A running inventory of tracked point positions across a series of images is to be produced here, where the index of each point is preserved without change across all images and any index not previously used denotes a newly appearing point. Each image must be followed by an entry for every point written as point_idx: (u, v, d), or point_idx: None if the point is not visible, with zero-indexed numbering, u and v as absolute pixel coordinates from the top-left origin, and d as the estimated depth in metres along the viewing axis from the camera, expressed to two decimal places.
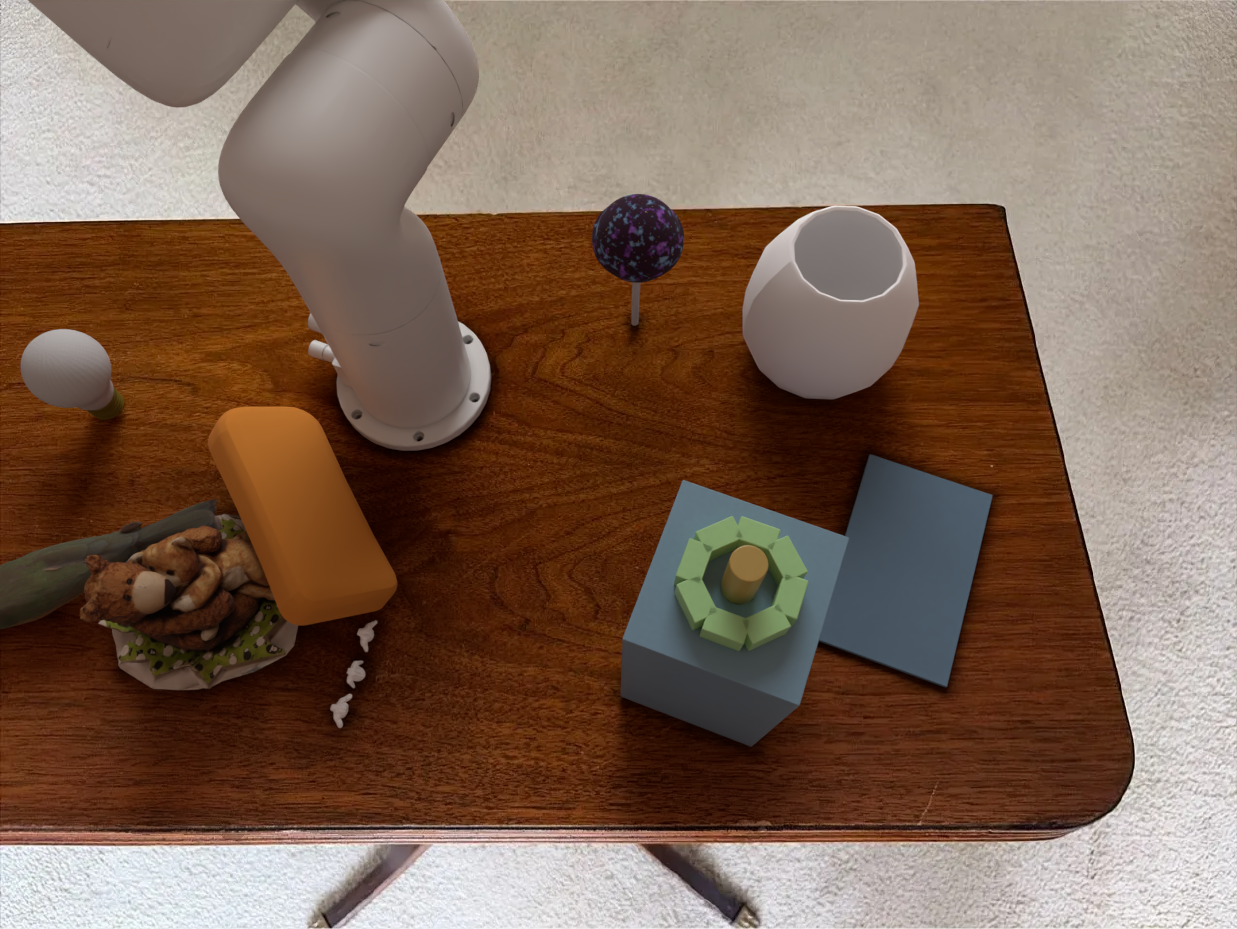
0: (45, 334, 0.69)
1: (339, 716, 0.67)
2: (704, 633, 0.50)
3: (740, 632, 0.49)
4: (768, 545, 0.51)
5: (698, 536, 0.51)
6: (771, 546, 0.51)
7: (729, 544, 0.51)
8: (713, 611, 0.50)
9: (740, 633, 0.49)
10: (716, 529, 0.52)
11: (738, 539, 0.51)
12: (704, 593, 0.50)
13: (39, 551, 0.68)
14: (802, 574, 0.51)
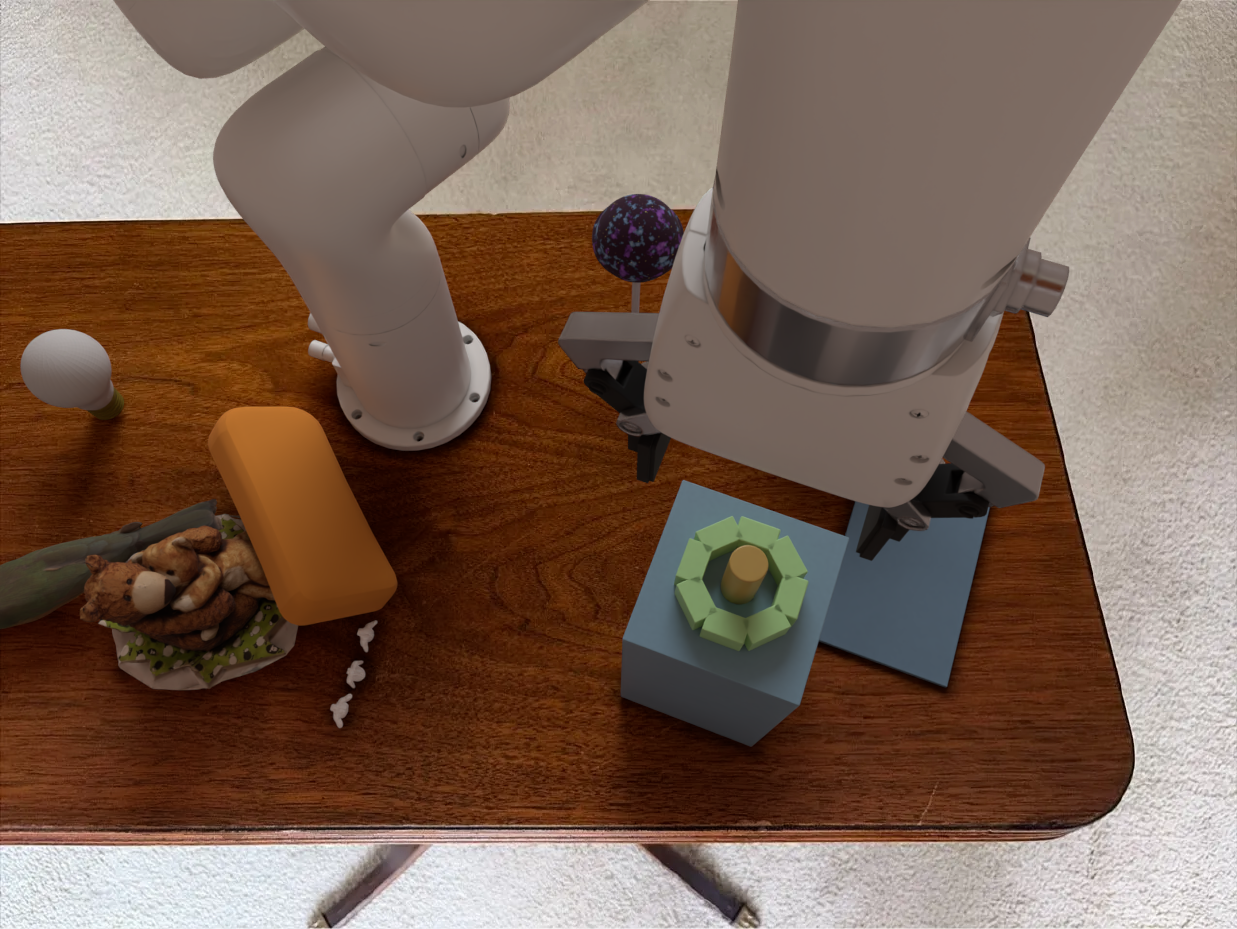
0: (45, 334, 0.69)
1: (339, 716, 0.67)
2: (704, 633, 0.50)
3: (740, 632, 0.49)
4: (768, 545, 0.51)
5: (698, 536, 0.51)
6: (771, 546, 0.51)
7: (729, 544, 0.51)
8: (713, 611, 0.50)
9: (740, 633, 0.49)
10: (716, 529, 0.52)
11: (738, 539, 0.51)
12: (704, 593, 0.50)
13: (39, 551, 0.68)
14: (802, 574, 0.51)
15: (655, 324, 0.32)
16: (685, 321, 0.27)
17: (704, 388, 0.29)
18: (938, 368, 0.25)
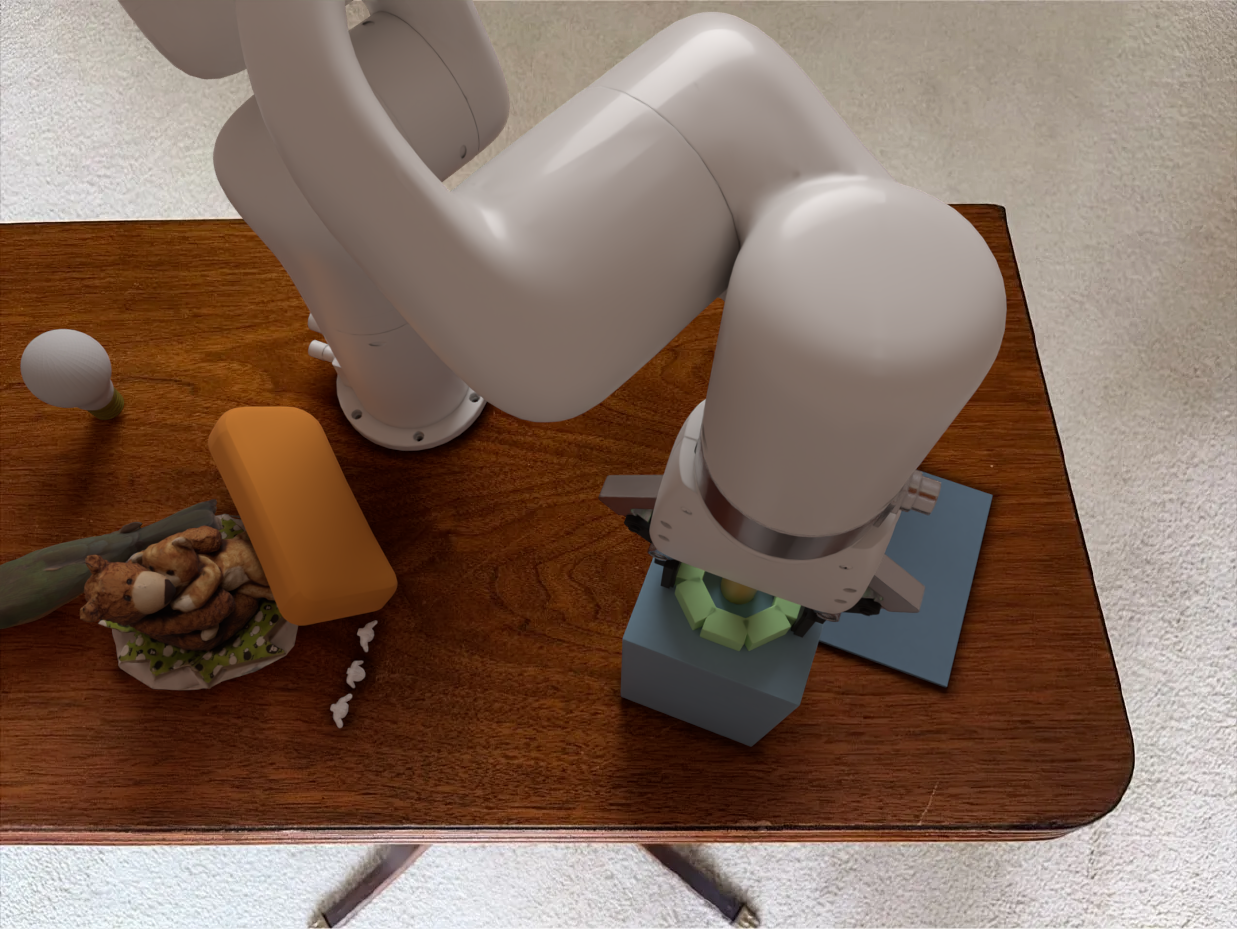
0: (45, 334, 0.69)
1: (339, 716, 0.67)
2: (704, 633, 0.50)
3: (740, 632, 0.49)
4: None
5: None
6: None
7: None
8: (714, 611, 0.50)
9: (740, 633, 0.49)
10: None
11: None
12: (704, 593, 0.50)
13: (39, 551, 0.68)
14: None
15: (660, 483, 0.43)
16: (681, 499, 0.38)
17: (695, 536, 0.40)
18: (856, 543, 0.36)
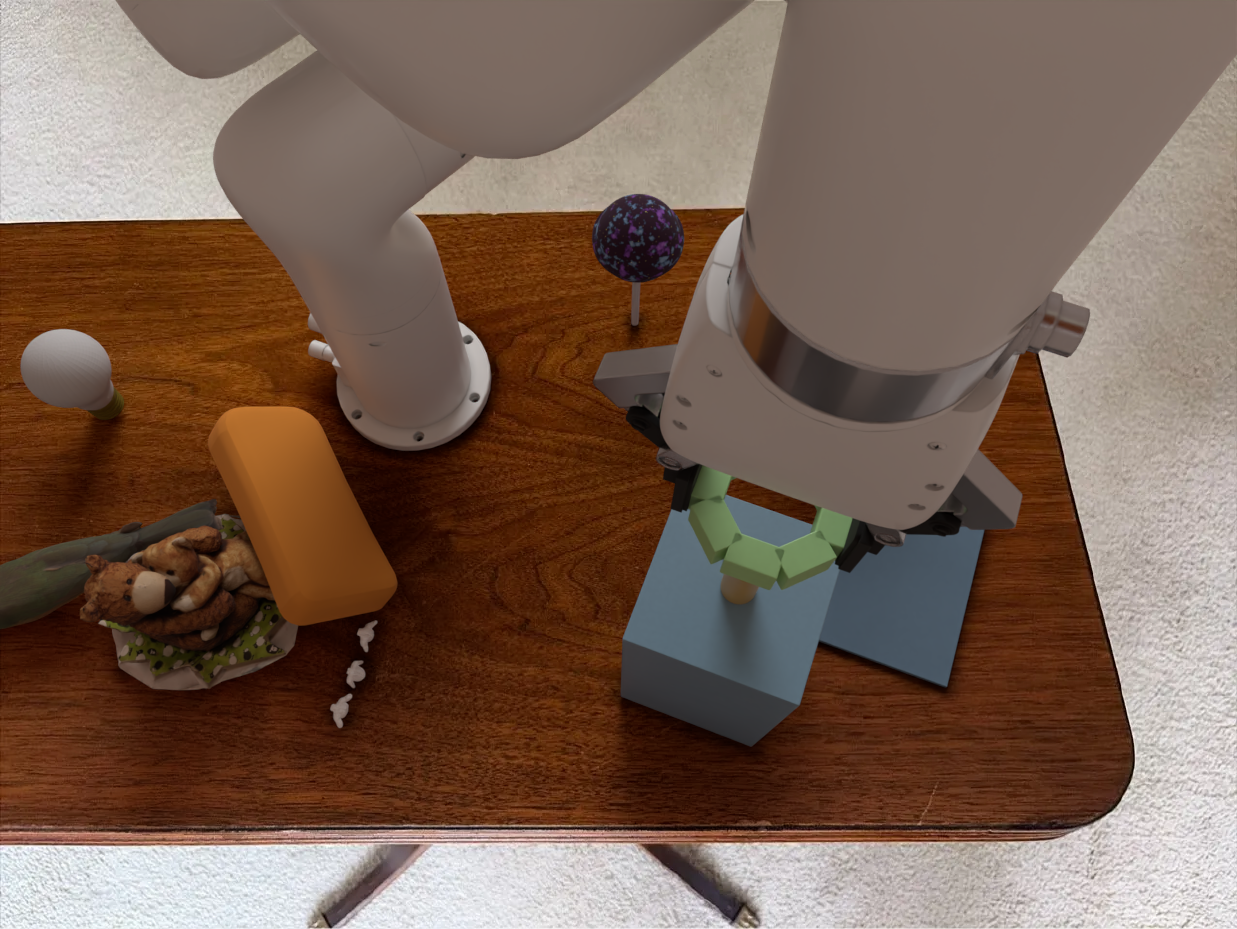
0: (45, 334, 0.69)
1: (339, 716, 0.67)
2: (726, 566, 0.39)
3: (772, 564, 0.39)
4: None
5: None
6: None
7: None
8: (739, 538, 0.39)
9: (772, 565, 0.39)
10: None
11: None
12: (726, 516, 0.40)
13: (39, 551, 0.68)
14: None
15: (675, 355, 0.32)
16: (708, 352, 0.27)
17: (723, 415, 0.30)
18: (958, 404, 0.25)
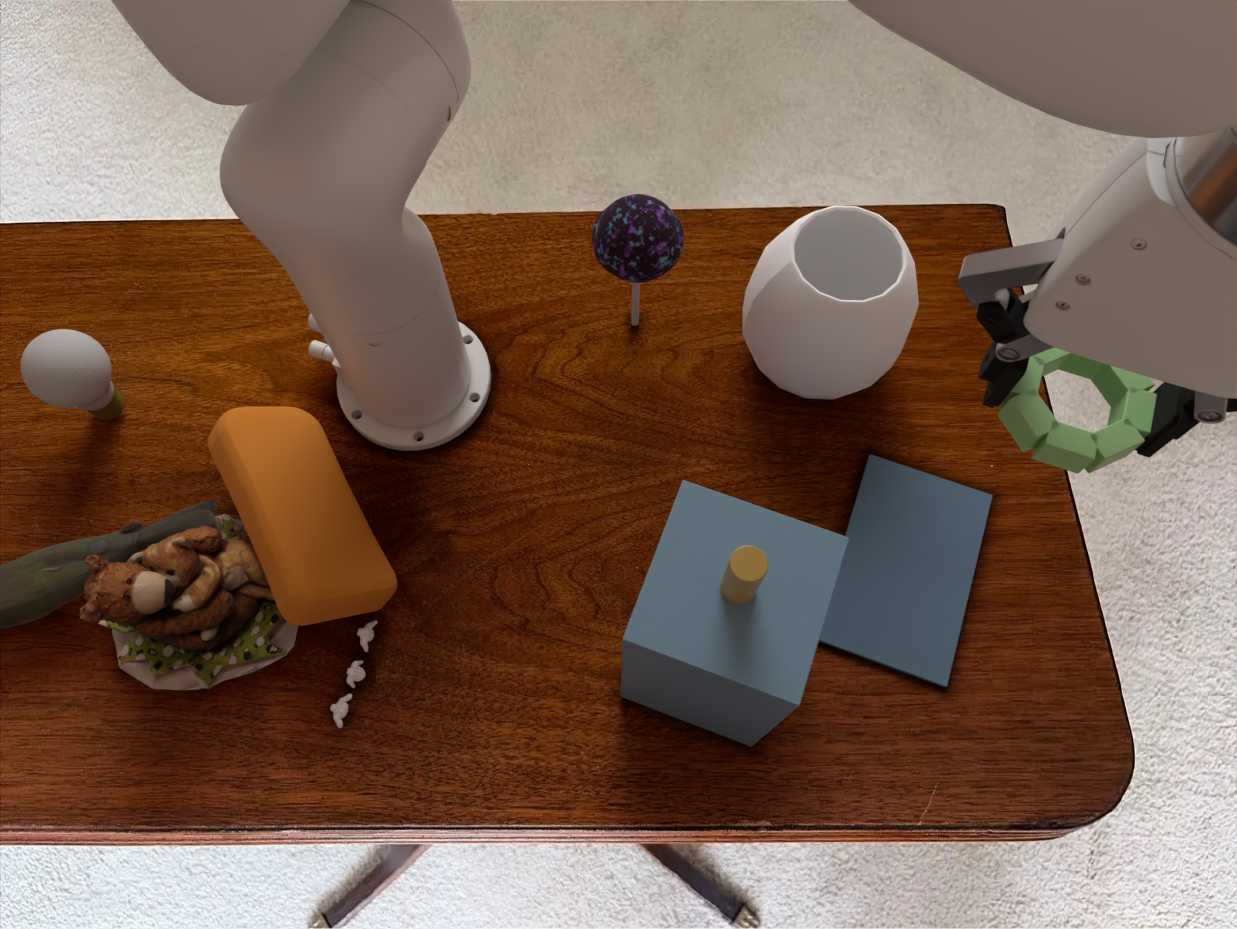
0: (45, 334, 0.69)
1: (339, 716, 0.67)
2: (1044, 451, 0.45)
3: (1090, 447, 0.44)
4: None
5: None
6: None
7: (1062, 357, 0.46)
8: (1056, 425, 0.45)
9: (1090, 448, 0.44)
10: None
11: None
12: (1043, 407, 0.45)
13: (39, 551, 0.68)
14: (1148, 387, 0.45)
15: (1053, 248, 0.38)
16: (1140, 226, 0.33)
17: (1123, 289, 0.35)
18: None
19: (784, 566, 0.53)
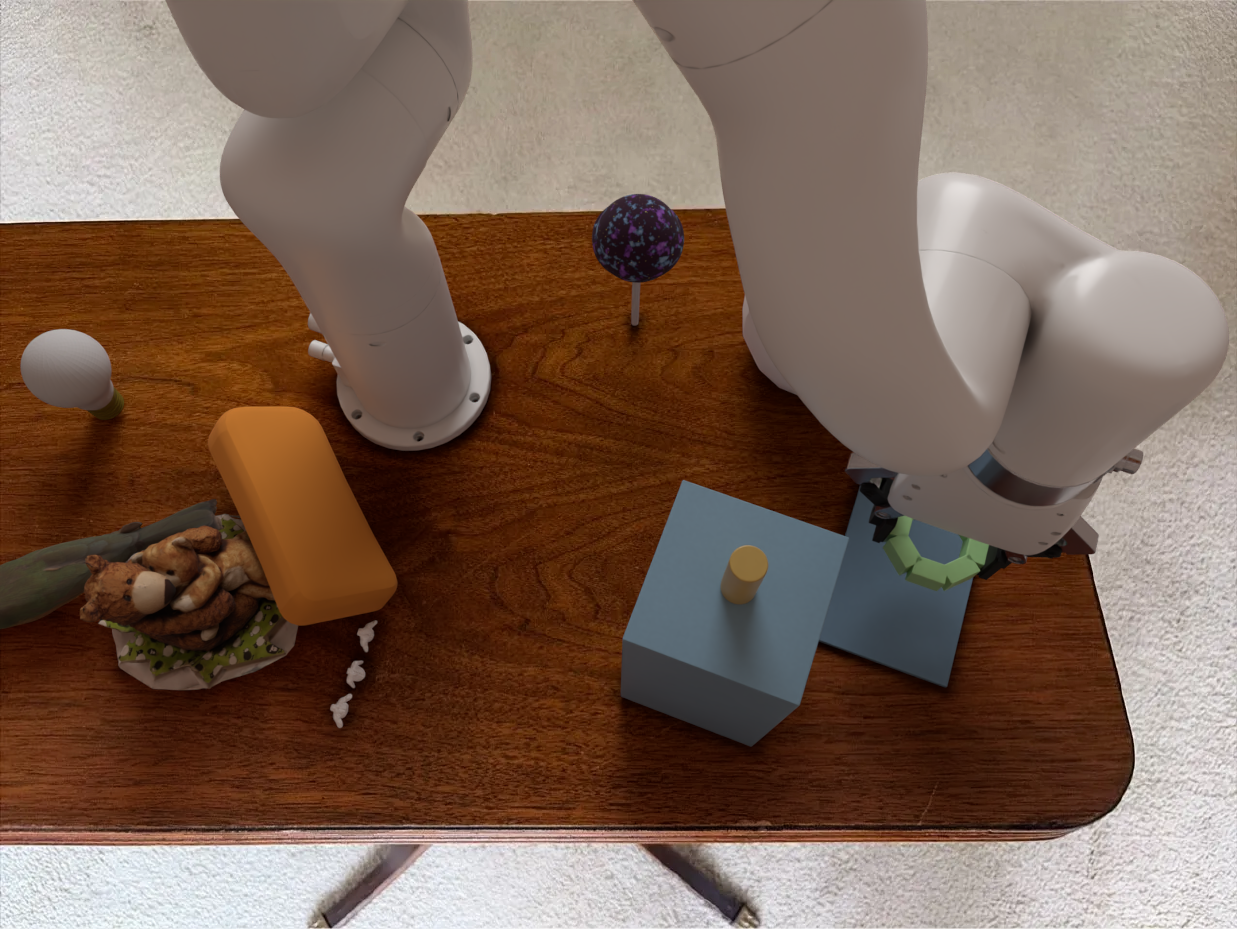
0: (45, 334, 0.69)
1: (339, 716, 0.67)
2: (911, 576, 0.65)
3: (941, 575, 0.64)
4: None
5: None
6: None
7: None
8: (919, 559, 0.64)
9: (941, 576, 0.64)
10: None
11: None
12: (911, 546, 0.65)
13: (39, 551, 0.68)
14: None
15: None
16: None
17: (939, 495, 0.55)
18: (1076, 495, 0.50)
19: (784, 566, 0.53)
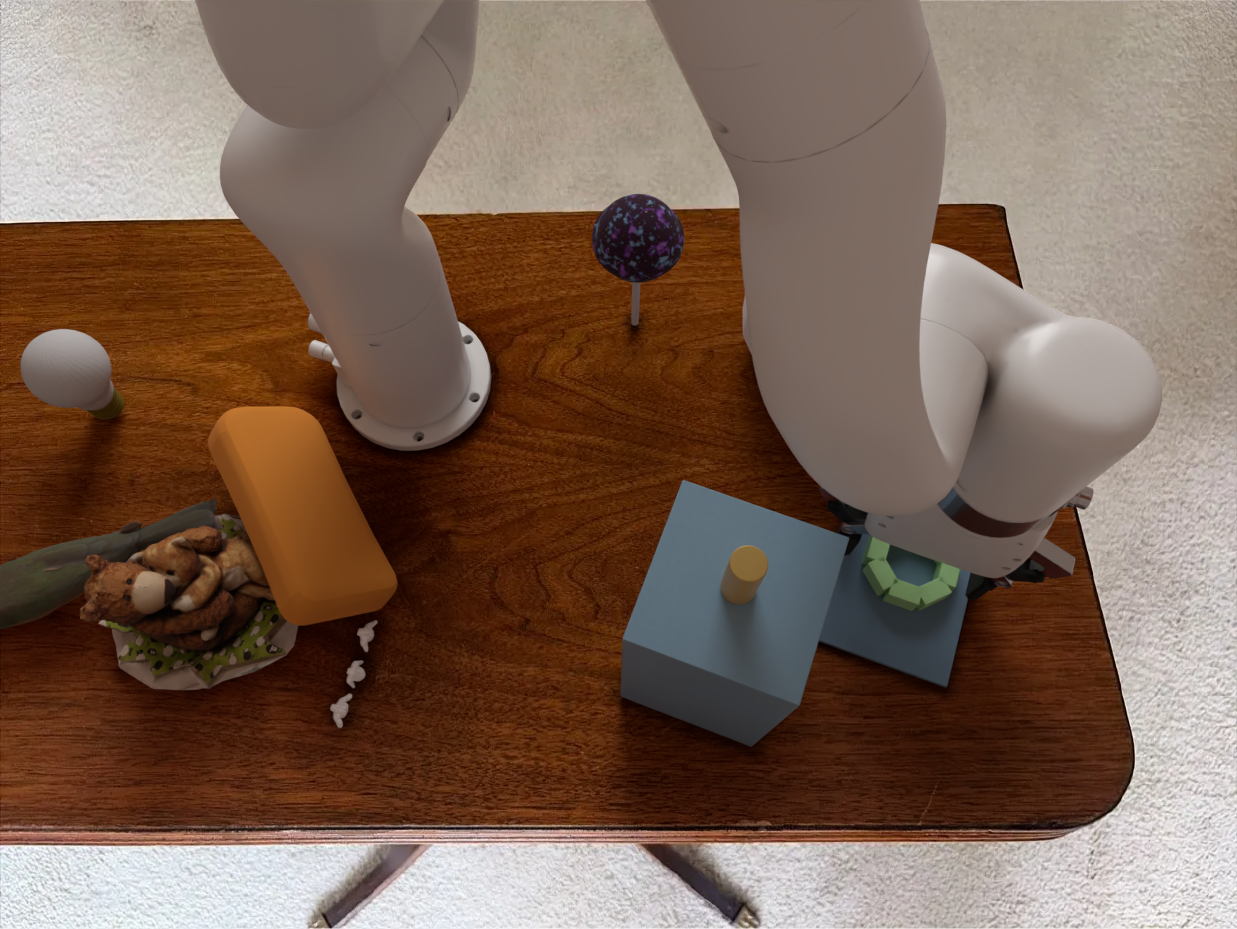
0: (45, 334, 0.69)
1: (339, 716, 0.67)
2: (888, 597, 0.70)
3: (916, 596, 0.69)
4: None
5: None
6: None
7: None
8: (896, 581, 0.70)
9: (916, 597, 0.69)
10: None
11: None
12: (888, 569, 0.70)
13: (39, 551, 0.68)
14: None
15: None
16: None
17: (911, 524, 0.60)
18: (1033, 528, 0.55)
19: (784, 566, 0.53)
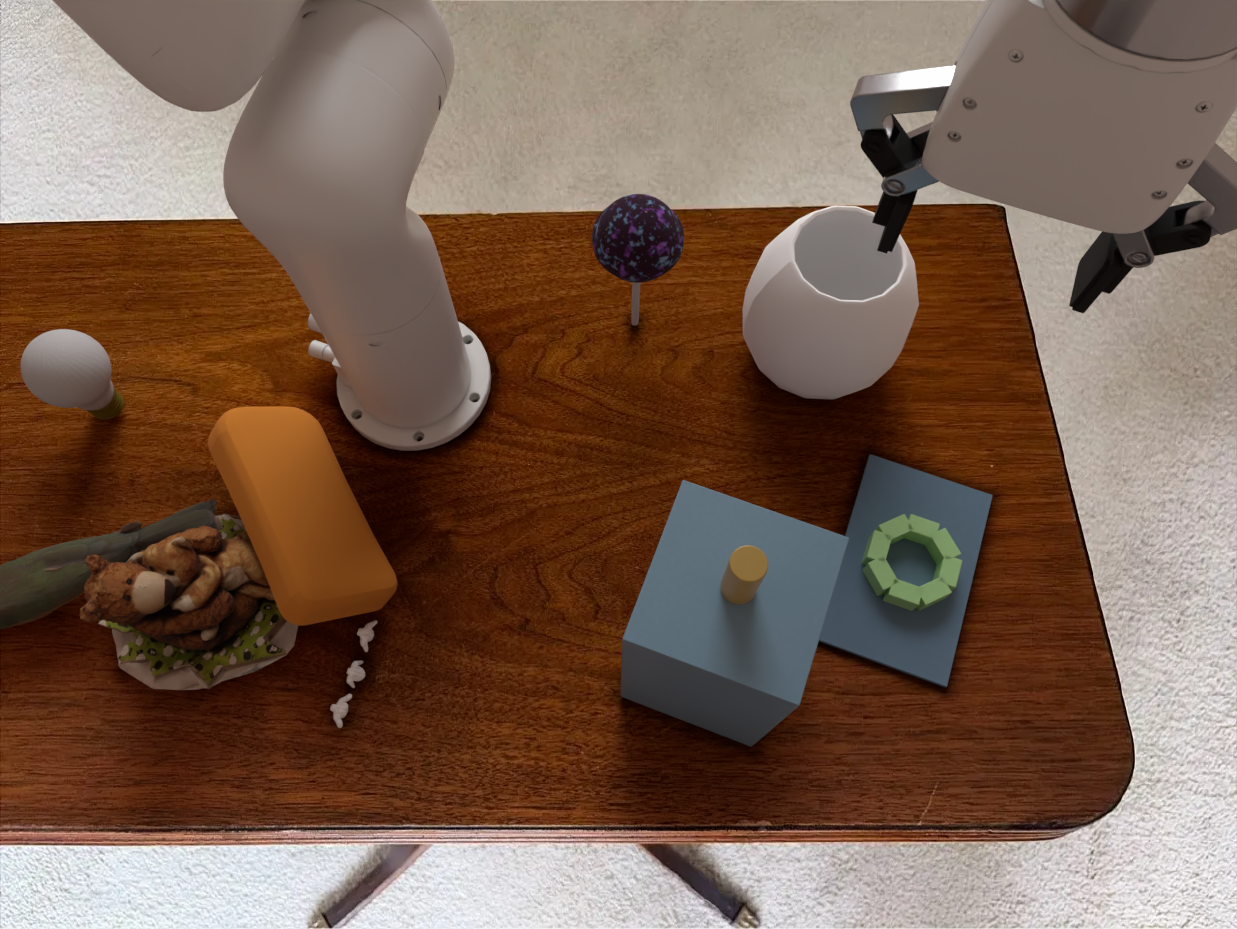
0: (45, 334, 0.69)
1: (339, 716, 0.67)
2: (888, 597, 0.70)
3: (916, 596, 0.69)
4: (931, 535, 0.71)
5: (880, 528, 0.71)
6: (934, 535, 0.71)
7: (903, 534, 0.71)
8: (896, 581, 0.70)
9: (916, 597, 0.69)
10: (893, 523, 0.71)
11: (910, 530, 0.71)
12: (888, 569, 0.70)
13: (39, 551, 0.68)
14: (957, 555, 0.70)
15: (947, 74, 0.39)
16: (1015, 35, 0.34)
17: (1006, 110, 0.36)
18: (1236, 54, 0.31)
19: (784, 566, 0.53)
